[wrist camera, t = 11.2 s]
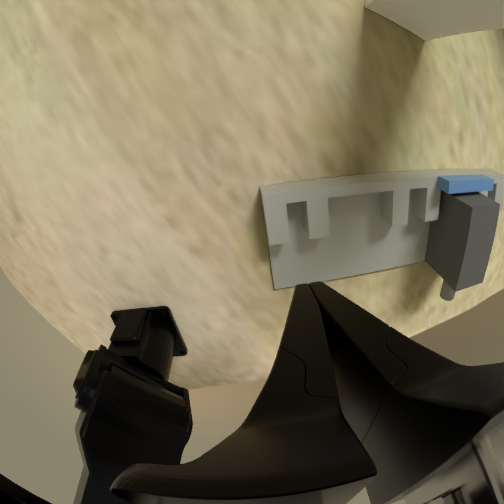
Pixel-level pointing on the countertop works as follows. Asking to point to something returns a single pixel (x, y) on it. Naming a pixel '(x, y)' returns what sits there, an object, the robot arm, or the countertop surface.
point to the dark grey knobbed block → (461, 240)
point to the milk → (441, 15)
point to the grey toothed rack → (359, 220)
